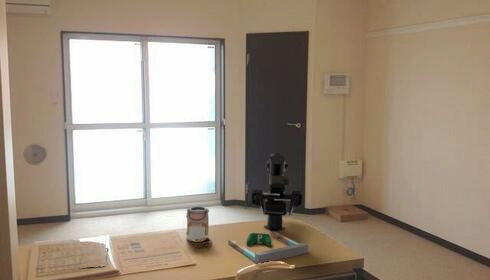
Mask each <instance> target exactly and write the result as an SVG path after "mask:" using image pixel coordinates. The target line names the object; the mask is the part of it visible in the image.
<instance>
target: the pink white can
mask: <svg viewBox="0 0 490 280" xmlns="http://www.w3.org/2000/svg"><path fill="white" fill-rule="evenodd" d="M209 212H210V209H209V208H206V207H204V206H192V207H188V208H187V209H186V224H187V225H186V229H187V231H186V238H187V240H188V241H189V242H191V241H192V240H193V239H204V238H207V237H208V238H209Z"/></svg>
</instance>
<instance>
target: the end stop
mask: <svg viewBox="0 0 490 280" xmlns="http://www.w3.org/2000/svg"><path fill="white" fill-rule="evenodd" d="M254 254H255V261H254V262H255V263H256V264H257V263H260V262H264V263H267V262H266V261H269V262H272V261H277V260H283V259H285V258H291V257H295V256H299V255H304V254H309V244H308V243H306V242H303V243H298V244H297V245H292V246H290V245H289V246H288V245H287V246H283V247H278V248H274V249H269V250H263V251H259V252H255V253H254ZM260 264H261V263H260Z"/></svg>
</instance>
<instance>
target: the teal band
mask: <svg viewBox="0 0 490 280" xmlns="http://www.w3.org/2000/svg"><path fill="white" fill-rule="evenodd" d="M297 244H299V242H296V241H294V240H292V239H291V240H289V241H288V244H287V246H288V245H289V246H292V245H297ZM242 254H243V255H244V256H246V257H247V258H248V259H250V260H252V261H253V262H255V253H254V252H252V251H251V250H249V249H248V248H246V249H243V253H242Z"/></svg>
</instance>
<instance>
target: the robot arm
mask: <svg viewBox="0 0 490 280" xmlns="http://www.w3.org/2000/svg"><path fill="white" fill-rule="evenodd" d="M288 166H289V164H287V162H286V158H285V157H284V155H282V154H281V153H280V152H274V153H271V154H269V158H268V159H266V161H265V173H266V177H267V178H268V188H269V189H268V192H263V189H262V188H261V189H259V188H258V189H257V188H253V189H252V190H251V204H252V205H255V206H257V207H258V208H259V209H260V211H261V213H262V214H263V216H267V223H266V224H265V225H264V227H263V228H265V229H267V230H269V231H271V232H274V231H275V232H277V231H280V230H285V229H286V227H284V226H283V216H287V214H288V215H289V216H292V213H293V211H294V209H296V208H297V207H300V206H301V205H302V204H303V192H302V190H295V189H294V190H291V192H290V194H288V193H287V194H286V193H285V191H286V186H289V185H290V175H284V173H285V172H286V171H287V169H288ZM287 201H288V202H289V201H290V203H289V208H288V204H287ZM288 209H289V210H288ZM287 210H288V211H289V212H288V211H287ZM287 212H288V213H287Z"/></svg>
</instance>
